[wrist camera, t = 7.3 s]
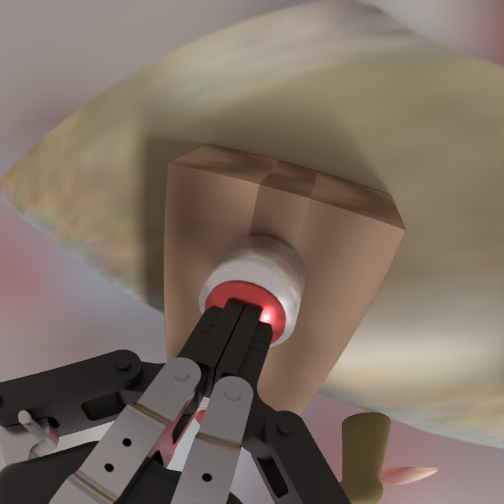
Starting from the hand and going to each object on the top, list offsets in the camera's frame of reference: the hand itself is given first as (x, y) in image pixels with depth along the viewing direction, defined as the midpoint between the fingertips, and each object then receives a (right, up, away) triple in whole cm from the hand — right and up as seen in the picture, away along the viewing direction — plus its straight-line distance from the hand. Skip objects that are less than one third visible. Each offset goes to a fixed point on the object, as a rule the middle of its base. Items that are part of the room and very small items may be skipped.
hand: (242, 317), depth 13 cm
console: (+1, -1, +11) cm, 11 cm away
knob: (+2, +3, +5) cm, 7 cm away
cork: (+14, -18, +17) cm, 28 cm away
